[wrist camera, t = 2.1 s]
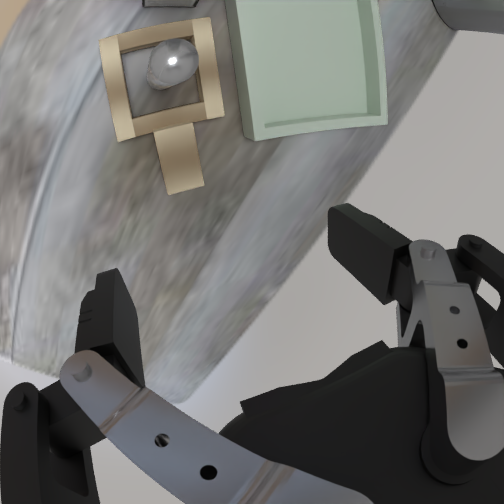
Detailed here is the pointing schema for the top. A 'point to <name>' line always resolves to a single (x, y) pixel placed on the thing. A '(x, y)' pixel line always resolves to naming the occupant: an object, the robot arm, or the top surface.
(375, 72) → the tray
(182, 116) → the wooden frame with handle
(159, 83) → the steel post
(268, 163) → the top surface
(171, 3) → the candy bar box
